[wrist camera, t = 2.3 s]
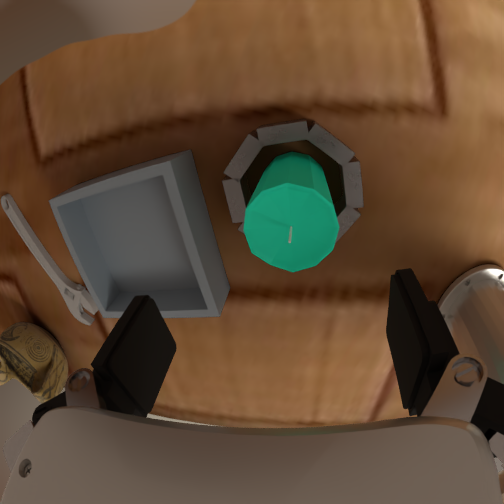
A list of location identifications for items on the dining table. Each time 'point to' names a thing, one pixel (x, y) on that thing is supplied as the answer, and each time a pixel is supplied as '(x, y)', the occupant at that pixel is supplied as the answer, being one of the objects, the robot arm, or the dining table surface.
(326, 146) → the collar
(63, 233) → the bin
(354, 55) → the dining table surface
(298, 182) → the candle
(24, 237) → the adjustable wrench
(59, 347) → the ceramic bowl
